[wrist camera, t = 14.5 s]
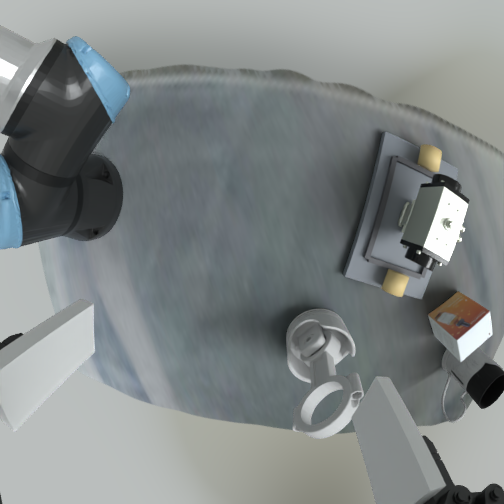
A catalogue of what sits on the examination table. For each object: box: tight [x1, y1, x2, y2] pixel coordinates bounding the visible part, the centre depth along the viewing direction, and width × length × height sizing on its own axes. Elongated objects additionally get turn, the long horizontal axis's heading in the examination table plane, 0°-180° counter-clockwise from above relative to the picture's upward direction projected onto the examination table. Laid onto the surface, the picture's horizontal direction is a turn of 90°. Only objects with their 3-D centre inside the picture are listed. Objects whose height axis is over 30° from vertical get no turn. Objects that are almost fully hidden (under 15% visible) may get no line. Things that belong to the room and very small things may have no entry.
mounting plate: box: [343, 131, 458, 300], centre depth 35 cm, size 23×15×5 cm, turn 164°
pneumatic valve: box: [398, 174, 469, 271], centre depth 30 cm, size 6×12×12 cm, turn 159°
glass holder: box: [441, 347, 504, 423], centre depth 34 cm, size 9×14×15 cm, turn 136°
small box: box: [428, 291, 492, 362], centre depth 35 cm, size 8×6×10 cm
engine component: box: [286, 308, 364, 439], centre depth 32 cm, size 11×20×10 cm
